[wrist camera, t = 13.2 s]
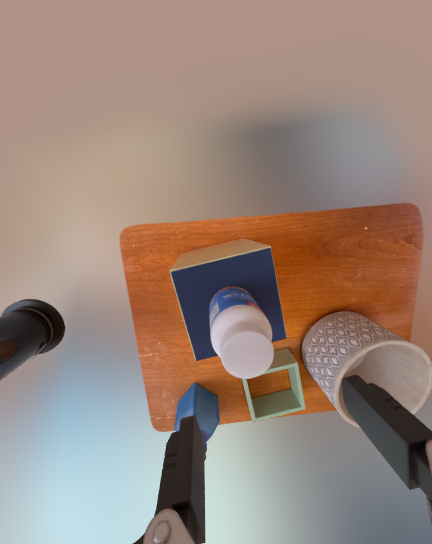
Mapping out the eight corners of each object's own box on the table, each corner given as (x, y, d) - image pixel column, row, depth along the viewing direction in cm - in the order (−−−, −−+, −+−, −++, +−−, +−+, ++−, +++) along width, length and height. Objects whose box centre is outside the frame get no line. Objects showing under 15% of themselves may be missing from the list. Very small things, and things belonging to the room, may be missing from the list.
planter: (348, 293, 44) (406, 319, 31) (384, 347, 47) (450, 390, 35) (284, 340, 45) (315, 384, 33) (324, 390, 48) (366, 446, 36)
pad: (196, 359, 27) (196, 361, 26) (171, 271, 24) (170, 272, 24) (285, 336, 27) (286, 338, 27) (269, 247, 24) (270, 248, 24)
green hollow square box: (247, 402, 48) (252, 422, 43) (237, 360, 45) (241, 376, 40) (295, 390, 48) (305, 409, 43) (287, 347, 46) (297, 362, 41)
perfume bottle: (217, 396, 47) (222, 452, 35) (200, 415, 48) (200, 477, 36) (194, 382, 46) (192, 436, 34) (177, 402, 47) (170, 462, 35)
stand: (197, 311, 42) (195, 360, 27) (181, 253, 40) (168, 270, 24) (255, 296, 43) (287, 338, 27) (243, 238, 40) (271, 245, 24)
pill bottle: (259, 291, 25) (296, 331, 15) (246, 332, 26) (273, 393, 16) (214, 280, 24) (223, 315, 15) (203, 322, 25) (204, 381, 16)
